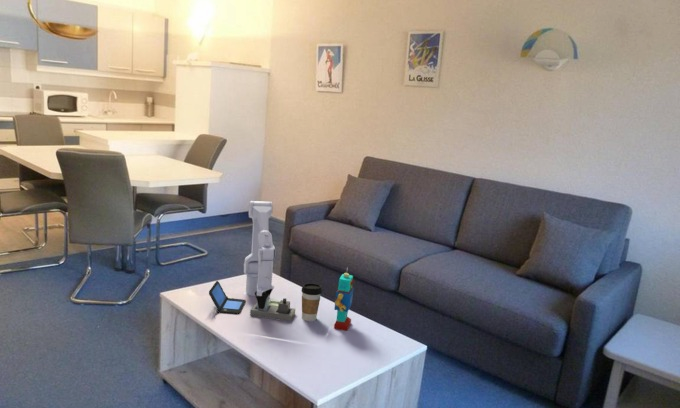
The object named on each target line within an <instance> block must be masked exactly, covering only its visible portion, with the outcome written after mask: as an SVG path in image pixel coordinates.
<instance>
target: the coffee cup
mask: <svg viewBox="0 0 680 408" xmlns="http://www.w3.org/2000/svg"><path fill="white" fill-rule="evenodd" d="M322 292H323V290H322V285H320V284H318V283H313V282H306V283H303V285H302V286H301V294H302V295H301V319H302V320H303V321H306V322H315V321H316V320H317V317H318V311H319V307H320V301H321V294H322Z"/></svg>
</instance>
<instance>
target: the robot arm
mask: <svg viewBox="0 0 680 408" xmlns="http://www.w3.org/2000/svg"><path fill="white" fill-rule="evenodd" d="M273 211H274V205H273V202H272V201H269V200H268V201H261V200H260V201H259V200H256V201H255V200H250V201H249V203H248V218H250V219H252V220H251V221H252V231H251V232H252V236H251V252H250V253H249V255H247V256H246V257H245V258H244V262H243V274H244V276H245V275H246V281H245V282H246V283H245V291H243V293H242V295H244V296H245V295H246V296H250V297H251V296H252V297H255V298H256V300H257V302H258V307H259V309H264V307H265V303H266V299H267V297H268V295H270V296H271V294H272V292H273V290H274V289H275V286H274V285H273V284H272V282H273V268H274V262H275V261H276V254H277V253H276V251H277V250H276V248H275V244H273V242H274V241H273V235H272V233H271V232H270V231H269V219H271V216H272V214H273ZM264 292H266V293H264ZM257 302H256V303H257Z"/></svg>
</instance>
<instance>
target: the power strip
mask: <svg viewBox="0 0 680 408" xmlns="http://www.w3.org/2000/svg"><path fill="white" fill-rule="evenodd" d="M295 314H296V308H295V307H294V308H293V307H290V312H289V314H283V313H278V306H274V305H269V309H268V310H267V311H264V310H257V302H256V303H255V304H254V305H252V308H250V312H249V316H252V317H257V318H258V317H259V318H264V319H273V320H278V321H284V322H292V320H293V318H294V316H295Z"/></svg>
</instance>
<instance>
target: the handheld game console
mask: <svg viewBox="0 0 680 408" xmlns="http://www.w3.org/2000/svg"><path fill="white" fill-rule="evenodd" d="M208 295H209V297H210V299H211V300H212V302H213V304H214V305H215V307H216V309H217V312H216V313H217V314H228V315H229V314H230V315H240V314H241V313H242V311H243V308H244V306H245V305H246V302H247V301H246V299H243V298H242V299H241V298H234V297H233V298H230V297H228V296H227V295H226V292H225V291H224V289H223V287H222V285H221V284H220V281H218V280H216V281H215V283H214V284H213V285H212V286H211V288H210V289H209V291H208Z"/></svg>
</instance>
